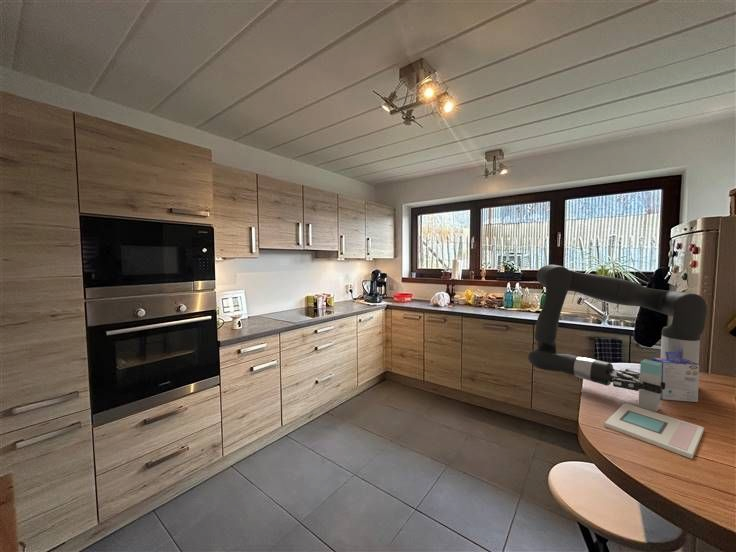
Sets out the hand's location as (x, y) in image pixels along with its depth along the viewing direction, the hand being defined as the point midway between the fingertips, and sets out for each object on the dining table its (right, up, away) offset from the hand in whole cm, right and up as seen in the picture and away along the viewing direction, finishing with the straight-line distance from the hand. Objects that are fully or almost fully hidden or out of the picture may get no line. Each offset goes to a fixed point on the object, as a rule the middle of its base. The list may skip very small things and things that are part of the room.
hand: (662, 388), depth 86 cm
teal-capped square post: (-2, -7, +3) cm, 8 cm away
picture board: (-11, -8, -8) cm, 16 cm away
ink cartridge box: (+12, -7, +9) cm, 17 cm away
